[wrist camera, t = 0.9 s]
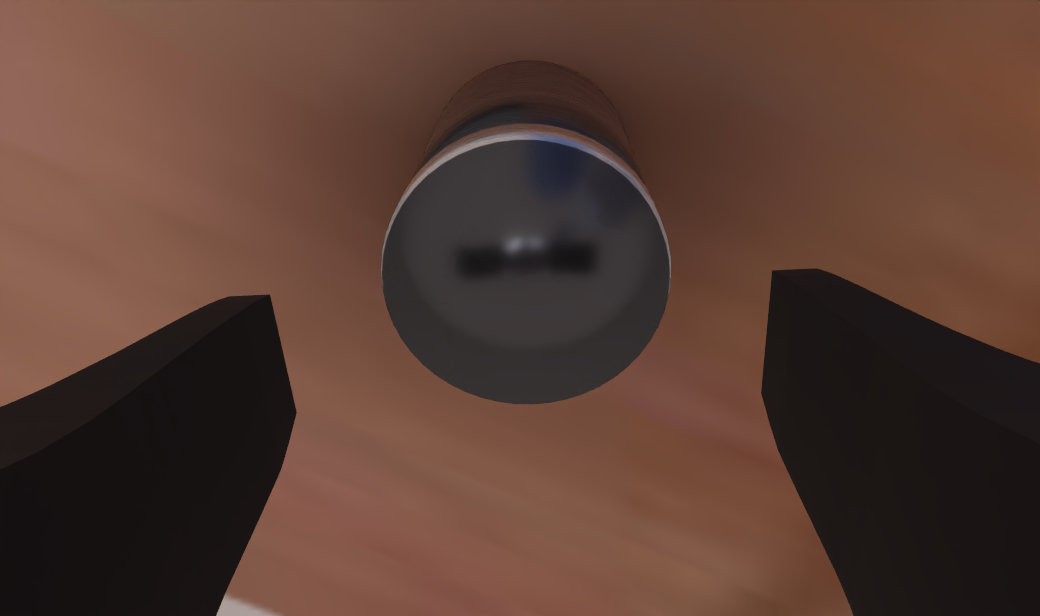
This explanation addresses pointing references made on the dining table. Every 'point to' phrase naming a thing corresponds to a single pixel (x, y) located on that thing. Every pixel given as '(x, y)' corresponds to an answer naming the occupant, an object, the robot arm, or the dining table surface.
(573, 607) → the dining table surface
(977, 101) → the dining table surface
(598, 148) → the lens
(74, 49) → the dining table surface
